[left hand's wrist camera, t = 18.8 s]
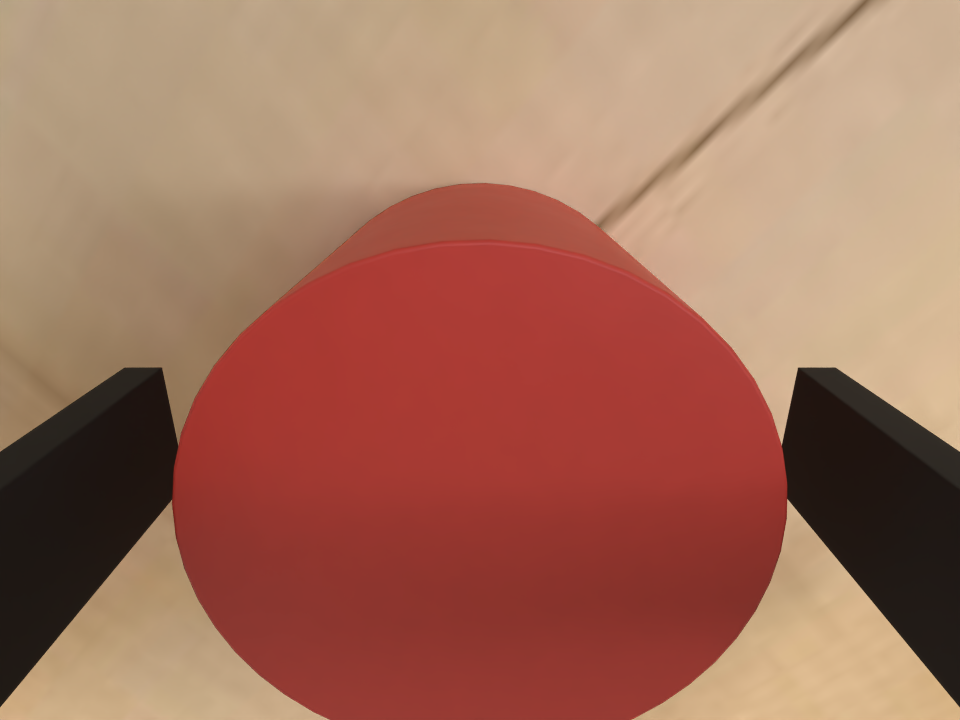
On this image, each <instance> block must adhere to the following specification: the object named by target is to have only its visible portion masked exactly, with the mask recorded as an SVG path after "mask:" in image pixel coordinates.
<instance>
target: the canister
mask: <svg viewBox="0 0 960 720" xmlns="http://www.w3.org/2000/svg"><path fill="white" fill-rule="evenodd" d="M172 507H173V516H174V524H175V533H176V539H177V543H178V547H179V550H180V554H181V558H182V561H183V565H184V569H185V571H186V573H187V576H188V578H189V580H190V582H191V585H192V587H193V589H194V592H195V594H196V596H197V598H198V600H199V602H200V603H201V605H202V607H203V608H204V610H205V612H206V613H207V615H208V616H209V618H210V620H211V621H212V623H213V625H214V626H215V628H216V629H217V630H218V631H219V633H220V634H221V635H222V636H223V637H224V639H225V640H226V641H227V642H228V644H229V645H230V646H231V647H232V649H233V650H234V651H235V652H236V653H237V654H238V655H239V656H240V657H241V658H242V659H243V660H244V661H245V662H246V663H247V664H248V665H249V666H250V667H251V668H252V669H253V670H254V671H255V672H257V673H258V674H259V675H260V676H261V677H262V678H264V679H265V680H266V681H268V682H269V683H270V684H272V685H273V686H274V687H276V688H277V689H278V690H279V691H281V692H282V693H283V694H285V695H286V696H288V697H290V698H291V699H293V700H294V701H296V702H298V703H299V704H301V705H303V706H304V707H306V708H308V709H309V710H311V711H313V712H315V713H317V714H319V715H321V716H323V717H325V718H327V719H329V720H632V719H634V718H636V717H638V716H639V715H641V714H643V713H645V712H647V711H649V710H650V709H652V708H654V707H656V706H658V705H660V704H661V703H663V702H665V701H666V700H668V699H669V698H670V697H672V696H673V695H675V694H676V693H678V692H679V691H681V690H682V689H683V688H685V687H686V686H688V685H689V684H691V683H692V682H693V681H694V680H695V679H696V678H697V677H699V676H700V675H701V674H702V673H703V672H704V671H705V670H707V669H708V668H709V667H710V666H711V665H712V664H714V663H715V662H716V660H717V659H718V658H719V657H720V656H721V655H722V654H723V653H724V652H725V651H726V649H727V648H728V647H729V646H730V645H731V644H732V643H733V642H734V641H735V639H736V638H737V637H738V635H739V634H740V633H741V631H742V630H743V628H744V627H745V625H746V624H747V623H748V621H749V620H750V618H751V617H752V615H753V614H754V613H755V611H756V609H757V607H758V605H759V603H760V601H761V599H762V597H763V595H764V593H765V591H766V589H767V587H768V586H769V584H770V581H771V578H772V575H773V572H774V569H775V567H776V564H777V561H778V558H779V555H780V552H781V547H782V541H783V536H784V530H785V525H786V519H787V478H786V471H785V464H784V457H783V449H782V445H781V442H780V439H779V436H778V433H777V429H776V426H775V423H774V420H773V417H772V413H771V411H770V409H769V407H768V405H767V403H766V401H765V399H764V397H763V395H762V393H761V391H760V389H759V387H758V385H757V383H756V381H755V380H754V378H753V377H752V375H751V374H750V373H749V371H748V370H747V368H746V367H745V366H744V364H743V363H742V361H741V360H740V359H739V357H738V356H737V355H736V353H735V352H734V350H733V349H732V348H731V347H730V346H729V345H728V344H727V343H726V342H725V341H724V339H723V338H722V337H721V336H720V335H719V334H718V333H717V332H716V331H715V330H714V329H713V328H712V327H711V326H710V325H709V324H708V323H707V322H706V321H705V320H704V319H703V318H702V317H701V316H699V315H698V314H697V313H696V312H695V311H694V310H693V309H691V308H690V307H689V306H688V305H687V304H686V303H685V302H683V301H682V300H681V299H680V298H679V297H678V296H677V295H676V294H674V293H673V292H672V291H671V290H670V289H669V288H668V287H666V286H665V285H664V284H663V283H662V282H661V281H660V280H658V279H657V278H656V277H655V276H654V275H653V274H652V273H650V272H649V271H648V270H647V269H646V268H645V267H644V266H642V265H641V264H640V263H639V262H638V261H637V260H636V259H634V258H633V257H632V256H631V255H630V254H629V253H628V252H626V251H625V250H624V249H623V248H622V247H621V246H620V245H618V244H617V243H616V242H615V241H614V240H613V239H612V238H610V237H609V236H608V235H607V234H606V233H605V232H604V231H603V230H601V229H600V228H599V227H598V226H597V225H595V224H594V223H593V222H591V221H590V220H589V219H587V218H586V217H585V216H583V215H582V214H581V213H579V212H578V211H576V210H574V209H572V208H571V207H569V206H567V205H565V204H563V203H562V202H560V201H558V200H556V199H553V198H550V197H548V196H545V195H543V194H540V193H537V192H535V191H531V190H527V189H522V188H518V187H514V186H509V185H498V184H488V183H479V184H459V185H453V186H448V187H442V188H436V189H433V190H430V191H427V192H424V193H421V194H417V195H414V196H412V197H409V198H407V199H405V200H403V201H401V202H399V203H397V204H395V205H393V206H391V207H389V208H388V209H386V210H385V211H383V212H382V213H380V214H379V215H377V216H376V217H374V218H373V219H371V220H370V221H369V222H367V223H366V224H365V225H364V226H363V227H362V228H361V229H359V230H358V231H357V232H356V233H355V234H354V235H353V236H351V237H350V238H349V239H348V240H347V241H346V242H344V243H343V244H342V245H341V246H340V247H339V248H338V249H336V250H335V251H334V252H333V253H332V254H331V255H330V256H328V257H327V258H326V259H325V260H324V261H323V262H322V263H320V264H319V265H318V266H317V267H316V268H315V269H314V270H312V271H311V272H310V273H309V274H308V275H307V276H305V277H304V278H303V279H302V280H301V281H300V282H299V283H297V284H296V285H295V286H294V287H293V288H292V289H291V290H289V291H288V292H287V293H286V294H285V295H284V296H283V297H281V298H280V299H279V300H278V301H277V302H276V303H275V304H273V305H272V306H271V307H270V308H269V309H268V310H267V311H265V312H264V313H263V314H262V315H261V316H260V317H259V318H258V319H257V320H255V321H254V322H253V323H252V324H251V325H250V326H249V327H248V328H246V329H245V330H244V331H243V332H242V333H241V334H240V335H239V336H238V337H237V338H236V340H235V341H234V342H233V343H232V344H231V346H230V347H229V348H228V349H227V351H226V352H225V353H224V354H223V355H222V357H221V358H220V359H219V360H218V361H217V363H216V364H215V365H214V367H213V368H212V370H211V372H210V373H209V375H208V377H207V378H206V380H205V382H204V384H203V385H202V387H201V389H200V390H199V392H198V394H197V395H196V397H195V399H194V401H193V404H192V407H191V409H190V412H189V414H188V417H187V419H186V422H185V425H184V427H183V430H182V432H181V437H180V441H179V446H178V451H177V455H176V460H175V465H174V475H173V497H172Z"/></svg>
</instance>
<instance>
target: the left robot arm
mask: <svg viewBox="0 0 960 720" xmlns="http://www.w3.org/2000/svg"><path fill="white" fill-rule="evenodd" d="M782 449H783V457H784V464H785V471H786V478H787V499H788V500H789V501H790V502H791V504H792V505H793V506H794V507H795V509H796V510H797V511H798V512H799V513H800V515H801V516H802V517H803V518H804V519H805V521H806V522H807V523H808V524H809V525H810V527H811V528H812V529H813V530H814V532H815V533H816V534H817V535H818V536H819V538H820V539H821V540H822V541H823V542H824V544H825V545H826V546H827V547H828V548H829V550H830V551H831V552H832V553H833V554H834V556H835V557H836V558H837V559H838V561H839V562H840V563H841V564H842V565H843V567H844V568H845V569H846V570H847V571H848V573H849V574H850V575H851V576H852V577H853V579H854V580H855V581H856V582H857V584H858V585H859V586H860V587H861V588H862V590H863V591H864V592H865V593H866V594H867V596H868V597H869V598H870V599H871V600H872V602H873V603H874V604H875V605H876V606H877V608H878V609H879V610H880V611H881V613H882V614H883V615H884V616H885V617H886V619H887V620H888V621H889V622H890V623H891V625H892V626H893V627H894V628H895V629H896V631H897V632H898V633H899V634H900V635H901V637H902V638H903V639H904V640H905V642H906V643H907V644H908V645H909V646H910V648H911V649H912V650H913V651H914V652H915V654H916V655H917V656H918V657H919V658H920V660H921V661H922V662H923V663H924V665H925V666H926V667H927V668H928V669H929V671H930V672H931V673H932V674H933V675H934V677H935V678H936V679H937V680H938V681H939V683H940V684H941V685H942V686H943V687H944V689H945V690H946V691H947V692H948V694H949V695H950V696H951V697H952V698H953V700H954V701H955V702H956V703H957V704H958V706H959V707H960V452H959V451H958V450H956V449H955V448H953V447H952V446H950V445H949V444H947V443H946V442H944V441H943V440H942V439H940V438H939V437H937V436H936V435H934V434H933V433H931V432H930V431H928V430H927V429H925V428H924V427H922V426H921V425H919V424H918V423H916V422H915V421H913V420H912V419H911V418H909V417H908V416H906V415H905V414H903V413H902V412H900V411H899V410H897V409H896V408H894V407H893V406H891V405H890V404H888V403H887V402H885V401H884V400H882V399H881V398H880V397H878V396H877V395H875V394H874V393H872V392H871V391H869V390H868V389H866V388H865V387H863V386H862V385H860V384H859V383H857V382H856V381H854V380H853V379H851V378H850V377H848V376H847V375H846V374H844V373H843V372H841V371H840V370H838V369H837V368H798V371H797V376H796V380H795V385H794V390H793V395H792V400H791V404H790V409H789V414H788V419H787V424H786V428H785V433H784V438H783V443H782ZM177 451H178V443H177V438H176V433H175V428H174V424H173V419H172V414H171V409H170V404H169V400H168V395H167V390H166V385H165V380H164V376H163V371H162V368H123V369H122V370H120V371H119V372H117V373H116V374H114V375H113V376H112V377H110V378H109V379H107V380H106V381H104V382H103V383H101V384H100V385H98V386H97V387H95V388H94V389H92V390H91V391H89V392H88V393H86V394H85V395H83V396H82V397H81V398H79V399H78V400H76V401H75V402H73V403H72V404H70V405H69V406H67V407H66V408H64V409H63V410H61V411H60V412H58V413H57V414H55V415H54V416H52V417H51V418H50V419H48V420H47V421H45V422H44V423H42V424H41V425H39V426H38V427H36V428H35V429H33V430H32V431H30V432H29V433H27V434H26V435H24V436H23V437H21V438H20V439H18V440H17V441H16V442H14V443H13V444H11V445H10V446H8V447H7V448H5V449H4V450H2V451H1V452H0V707H1V706H2V704H3V703H4V702H5V701H6V700H7V698H8V697H9V696H10V695H11V694H12V692H13V691H14V690H15V689H16V688H17V686H18V685H19V684H20V683H21V681H22V680H23V679H24V678H25V677H26V675H27V674H28V673H29V672H30V671H31V669H32V668H33V667H34V666H35V665H36V663H37V662H38V661H39V660H40V659H41V657H42V656H43V655H44V654H45V652H46V651H47V650H48V649H49V648H50V646H51V645H52V644H53V643H54V642H55V640H56V639H57V638H58V637H59V636H60V634H61V633H62V632H63V631H64V629H65V628H66V627H67V626H68V625H69V623H70V622H71V621H72V620H73V619H74V617H75V616H76V615H77V614H78V613H79V611H80V610H81V609H82V608H83V607H84V605H85V604H86V603H87V602H88V600H89V599H90V598H91V597H92V596H93V594H94V593H95V592H96V591H97V590H98V588H99V587H100V586H101V585H102V584H103V582H104V581H105V580H106V579H107V577H108V576H109V575H110V574H111V573H112V571H113V570H114V569H115V568H116V567H117V565H118V564H119V563H120V562H121V561H122V559H123V558H124V557H125V556H126V555H127V553H128V552H129V551H130V550H131V548H132V547H133V546H134V545H135V544H136V542H137V541H138V540H139V539H140V538H141V536H142V535H143V534H144V533H145V532H146V530H147V529H148V528H149V527H150V525H151V524H152V523H153V522H154V521H155V519H156V518H157V517H158V516H159V515H160V513H161V512H162V511H163V510H164V509H165V507H166V506H167V505H168V504H169V503H170V501H171V500H172V497H173V475H174V465H175V460H176V455H177Z"/></svg>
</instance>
